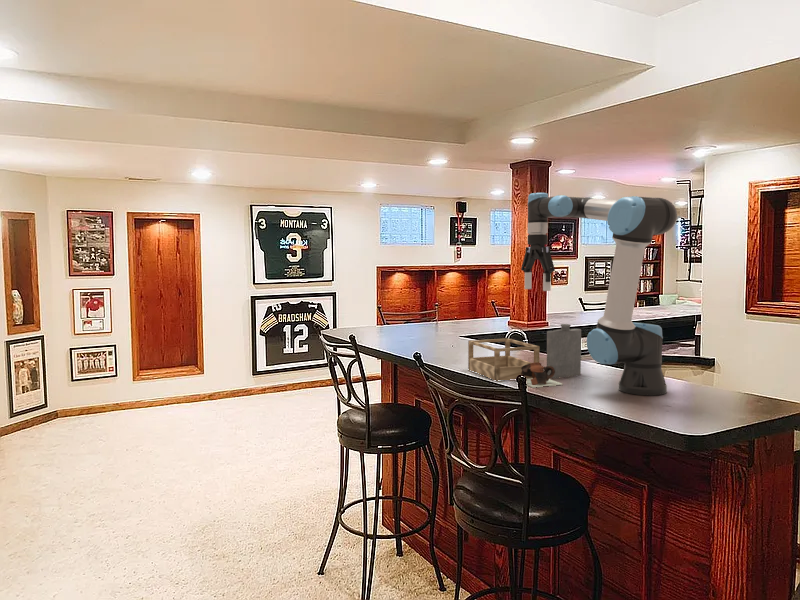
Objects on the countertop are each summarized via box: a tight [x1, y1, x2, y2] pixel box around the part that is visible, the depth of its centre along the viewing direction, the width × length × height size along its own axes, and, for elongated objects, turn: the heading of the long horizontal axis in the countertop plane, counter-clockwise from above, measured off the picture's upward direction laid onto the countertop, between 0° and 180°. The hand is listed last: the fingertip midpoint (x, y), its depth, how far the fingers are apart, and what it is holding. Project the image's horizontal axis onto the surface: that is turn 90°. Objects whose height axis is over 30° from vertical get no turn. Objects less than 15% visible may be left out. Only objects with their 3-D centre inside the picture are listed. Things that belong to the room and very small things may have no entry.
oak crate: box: [467, 337, 540, 382], centre depth 239 cm, size 24×18×12 cm
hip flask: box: [546, 323, 582, 379], centre depth 234 cm, size 16×4×20 cm, turn 118°
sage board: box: [526, 378, 564, 389], centre depth 222 cm, size 12×12×1 cm
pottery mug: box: [521, 361, 555, 385], centre depth 221 cm, size 12×10×8 cm
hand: (537, 289), depth 236 cm, fingers open, 13 cm apart
